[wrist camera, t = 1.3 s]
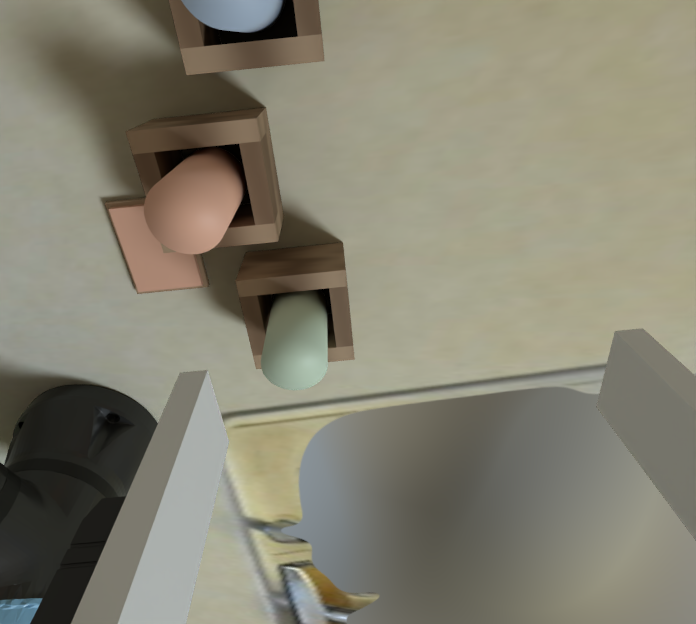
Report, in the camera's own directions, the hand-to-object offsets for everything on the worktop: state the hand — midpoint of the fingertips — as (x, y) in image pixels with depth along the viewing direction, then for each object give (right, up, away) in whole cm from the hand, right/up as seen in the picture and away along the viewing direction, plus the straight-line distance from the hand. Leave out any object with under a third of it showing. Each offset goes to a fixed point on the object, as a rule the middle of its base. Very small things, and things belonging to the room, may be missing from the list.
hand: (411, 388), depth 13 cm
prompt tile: (-19, +8, +29) cm, 36 cm away
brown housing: (-12, +14, +26) cm, 32 cm away
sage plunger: (-6, +3, +29) cm, 30 cm away
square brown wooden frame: (-6, +4, +32) cm, 33 cm away
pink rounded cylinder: (-12, +13, +23) cm, 29 cm away
